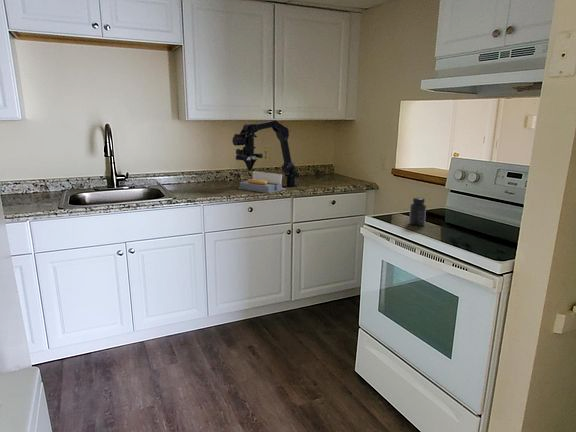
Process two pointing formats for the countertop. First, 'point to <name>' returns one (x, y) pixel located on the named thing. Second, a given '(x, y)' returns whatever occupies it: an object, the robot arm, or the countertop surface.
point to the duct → (261, 187)
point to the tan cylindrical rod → (257, 181)
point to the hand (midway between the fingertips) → (249, 170)
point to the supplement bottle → (417, 212)
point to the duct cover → (267, 177)
